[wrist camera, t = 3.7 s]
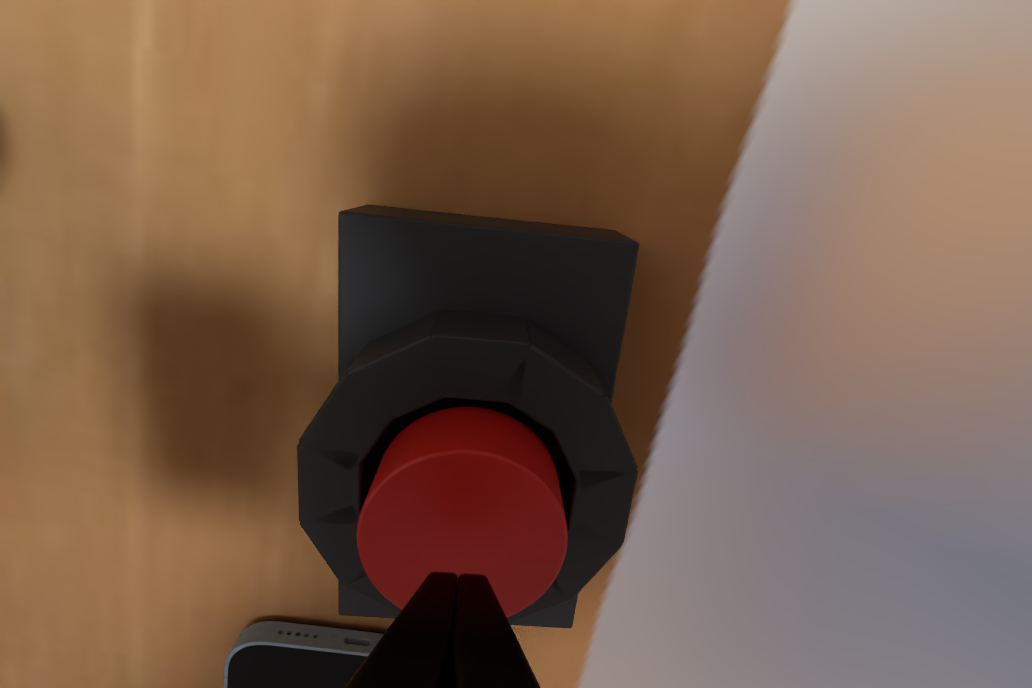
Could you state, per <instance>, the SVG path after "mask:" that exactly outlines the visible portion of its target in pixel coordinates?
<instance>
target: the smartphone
mask: <svg viewBox="0 0 1032 688" xmlns="http://www.w3.org/2000/svg"><path fill="white" fill-rule="evenodd" d="M383 635H384V634H381V633H373V632H364V631H356V630H347V629H339V628H331V627H322V626H314V625H305V624H297V623H288V622H280V621H264V622H258V623H255V624H252V625H250V626H249V627H247V628H246V629H244V630H243V631H242V633H241V634H240V635H239V637H238V639H237V641H236V642H235V644H234V646H233V648H232V649H231V651H230V653H229V655H228V657H227V659H226V661H225V666H224V682H223V688H344V687H345V686H346V685H347V683H348V682H349V681H350V679H351V678H352V677H353V675H354V674H355V673H356V671H357V670H358V669H359V667H360V666H361V665H362V663H363V662H364V661H365V659H366V658H367V656H368V655H369V654H370V652H371V651H372V650H373V648H374V647H375V646H376V644H377V643H378V642H379V640H380V639H381V638H382V636H383Z"/></svg>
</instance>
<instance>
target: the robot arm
mask: <svg viewBox="0 0 1032 688" xmlns="http://www.w3.org/2000/svg"><path fill="white" fill-rule="evenodd" d="M457 582H458V584H457ZM344 688H540V686H539V684H538V682H537V680H536V677H535V675H534V673H533V671H532V669H531V667H530V665H529V663H528V661H527V659H526V657H525V655H524V653H523V650H522V648H521V646H520V644H519V642H518V640H517V638H516V636H515V634H514V632H513V630H512V628H511V626H510V623H509V621H508V619H507V617H506V615H505V613H504V611H503V609H502V607H501V605H500V603H499V601H498V599H497V596H496V594H495V592H494V590H493V588H492V586H491V584H490V582H489V580H488V578H487V577H486V576H485V575H483V574H469V573H462V574H460V575H459V577H458V576H457V574H456V573H452V572H436V571H434V572H431V573H430V574H429V575H428V576H427V577H426V578H425V580H424V581H423V582H422V584H421V585H420V586H419V588H418V589H417V590H416V592H415V593H414V595H413V596H412V597H411V599H410V600H409V601H408V603H407V604H406V605H405V607H404V608H403V609H402V611H401V612H400V613H399V615H398V616H397V617H396V619H395V620H394V621H393V623H392V624H391V626H390V627H389V628H388V630H387V631H386V632H385V634H384V635H383V636H382V638H381V639H380V640H379V642H378V643H377V644H376V646H375V647H374V648H373V650H372V651H371V652H370V654H369V655H368V656H367V658H366V659H365V661H364V662H363V663H362V665H361V666H360V667H359V669H358V670H357V671H356V673H355V674H354V675H353V677H352V678H351V679H350V681H349V682H348V683H347V685H346V686H345V687H344Z"/></svg>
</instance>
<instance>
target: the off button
mask: <svg viewBox="0 0 1032 688" xmlns="http://www.w3.org/2000/svg"><path fill="white" fill-rule="evenodd" d="M567 542H568V532H567V523H566V518H565V512H564V507H563V502H562V497H561V491H560V486H559V481H558V476H557V471H556V467H555V464H554V461H553V459H552V456H551V454H550V452H549V451H548V449H547V447H546V445H545V444H544V443H543V442H542V440H541V439H540V438H539V437H538V436H537V435H536V434H535V433H534V432H533V431H532V430H531V429H530V428H528V427H527V426H526V425H524V424H523V423H522V422H520V421H518V420H516V419H515V418H513V417H511V416H509V415H506V414H504V413H501V412H499V411H495V410H491V409H487V408H480V407H453V408H447V409H443V410H439V411H436V412H433V413H430V414H427V415H425V416H423V417H421V418H419V419H417V420H415V421H414V422H413V423H411V424H410V425H408V426H407V427H405V428H404V429H403V430H402V431H401V432H400V433H399V434H398V435H397V436H396V437H395V438H394V440H393V441H392V442H391V443H390V445H389V446H388V448H387V450H386V451H385V453H384V455H383V458H382V460H381V462H380V465H379V467H378V470H377V472H376V475H375V477H374V480H373V482H372V485H371V487H370V489H369V492H368V494H367V497H366V499H365V502H364V504H363V507H362V509H361V512H360V516H359V519H358V524H357V547H358V551H359V556H360V560H361V563H362V565H363V568H364V570H365V572H366V574H367V575H368V577H369V579H370V581H371V582H372V583H373V585H374V586H375V587H376V588H377V590H378V591H379V592H380V593H381V594H382V595H383V596H384V597H385V598H386V599H388V600H389V601H390V602H391V603H393V604H394V605H395V606H397V607H399V608H400V609H403V608H404V607H405V605H406V604H407V603H408V601H409V600H410V599H411V597H412V596H413V595H414V593H415V592H416V590H417V589H418V588H419V586H420V585H421V584H422V582H423V581H424V580H425V578H426V577H427V576H428V575H429V574H430V573H431V572H434V571H436V572H452V573H456V574H457V576H458V577H459V575H460V574H462V573H469V574H483V575H485V576H486V577H487V578H488V580H489V582H490V584H491V586H492V588H493V590H494V592H495V594H496V596H497V599H498V601H499V603H500V605H501V607H502V609H503V611H504V613H505V615H506V617H509V616H512V615H514V614H516V613H518V612H520V611H522V610H523V609H525V608H527V607H528V606H530V605H531V604H532V603H534V602H535V601H536V600H538V599H539V598H540V597H541V596H542V595H543V594H544V593H545V592H546V591H547V589H548V588H549V587H550V586H551V584H552V583H553V582H554V580H555V578H556V577H557V575H558V573H559V571H560V569H561V566H562V564H563V562H564V559H565V555H566V551H567ZM457 584H458V582H457Z"/></svg>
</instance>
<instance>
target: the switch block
mask: <svg viewBox="0 0 1032 688" xmlns="http://www.w3.org/2000/svg"><path fill="white" fill-rule="evenodd" d="M638 249H639V243H638V242H636V241H634V240H633V239H631V238H629V237H627V236H625V235H623V234H621V233H619V232H617V231H615V230H606V229H596V228H587V227H577V226H567V225H558V224H548V223H539V222H529V221H519V220H510V219H500V218H491V217H481V216H472V215H462V214H452V213H443V212H433V211H424V210H414V209H405V208H395V207H385V206H376V205H364V206H360V207H356V208H352V209H348V210H344V211H341V212H339V381H338V382H337V384H336V385H335V387H334V388H333V390H332V391H331V393H330V394H329V396H328V397H327V399H326V400H325V402H324V403H323V405H322V406H321V408H320V409H319V411H318V412H317V414H316V415H315V417H314V418H313V420H312V421H311V423H310V424H309V426H308V427H307V429H306V430H305V432H304V433H303V435H302V436H301V438H300V439H299V443H298V445H297V461H298V497H299V521H300V525H301V526H302V528H303V529H304V531H305V532H306V534H307V535H308V537H309V538H310V539H311V541H312V542H313V544H314V545H315V547H316V548H317V550H318V551H319V552H320V554H321V555H322V557H323V558H324V560H325V561H326V562H327V564H328V565H329V567H330V568H331V570H332V571H333V573H334V574H335V575H336V577H337V578H338V580H339V615H348V616H366V617H383V618H396V617H397V616H398V615H399V613H400V612H401V611H402V609H400V608H399V607H397V606H395V605H394V604H393V603H391V602H390V601H389V600H388V599H386V598H385V597H384V596H383V595H382V594H381V593H380V592H379V591H378V590H377V588H376V587H375V586H374V585H373V583H372V582H371V581H370V579H369V577H368V575H367V574H366V572H365V570H364V568H363V565H362V563H361V560H360V556H359V551H358V547H357V524H358V519H359V516H360V512H361V509H362V507H363V504H364V502H365V499H366V497H367V494H368V492H369V489H370V487H371V485H372V482H373V480H374V477H375V475H376V472H377V470H378V467H379V465H380V462H381V460H382V458H383V455H384V453H385V451H386V450H387V448H388V446H389V445H390V443H391V442H392V441H393V440H394V438H395V437H396V436H397V435H398V434H399V433H400V432H401V431H402V430H403V429H404V428H405V427H407V426H408V425H410V424H411V423H413V422H414V421H415V420H417V419H419V418H421V417H423V416H425V415H427V414H430V413H433V412H436V411H439V410H443V409H447V408H453V407H480V408H487V409H491V410H495V411H499V412H501V413H504V414H506V415H509V416H511V417H513V418H515V419H516V420H518V421H520V422H522V423H523V424H524V425H526V426H527V427H528V428H530V429H531V430H532V431H533V432H534V433H535V434H536V435H537V436H538V437H539V438H540V439H541V440H542V442H543V443H544V444H545V445H546V447H547V449H548V451H549V452H550V454H551V456H552V459H553V461H554V464H555V467H556V471H557V476H558V481H559V486H560V491H561V497H562V502H563V507H564V512H565V518H566V523H567V532H568V542H567V551H566V555H565V559H564V562H563V564H562V566H561V569H560V571H559V573H558V575H557V577H556V578H555V580H554V582H553V583H552V584H551V586H550V587H549V588H548V589H547V591H546V592H545V593H544V594H543V595H542V596H541V597H540V598H539V599H538V600H536V601H535V602H534V603H532V604H531V605H530V606H528V607H527V608H525V609H523V610H522V611H520V612H518V613H516V614H514V615H512V616H509V617H507V619H508V621H509V623H510V625H523V626H540V627H558V628H571V627H572V625H573V619H574V613H575V608H576V602H577V596H578V593H579V592H580V590H581V589H582V588H583V587H584V586H585V585H586V584H587V583H588V582H589V581H590V580H591V579H592V578H593V576H594V575H595V574H596V573H597V572H598V571H599V570H600V569H601V568H602V567H603V566H604V565H605V564H606V562H607V561H608V560H609V559H610V558H611V557H612V556H613V555H614V554H615V553H616V552H617V551H618V550H619V548H620V547H621V546H622V543H623V542H624V538H625V533H626V528H627V523H628V518H629V513H630V508H631V503H632V498H633V493H634V488H635V483H636V478H637V473H638V471H637V465H636V462H635V460H634V458H633V455H632V453H631V451H630V448H629V446H628V444H627V441H626V439H625V437H624V434H623V432H622V430H621V427H620V425H619V423H618V420H617V418H616V415H615V413H614V411H613V408H612V406H611V403H612V397H613V392H614V386H615V380H616V374H617V369H618V363H619V357H620V352H621V346H622V340H623V335H624V329H625V323H626V318H627V312H628V306H629V300H630V295H631V289H632V283H633V278H634V272H635V266H636V261H637V255H638Z"/></svg>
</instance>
